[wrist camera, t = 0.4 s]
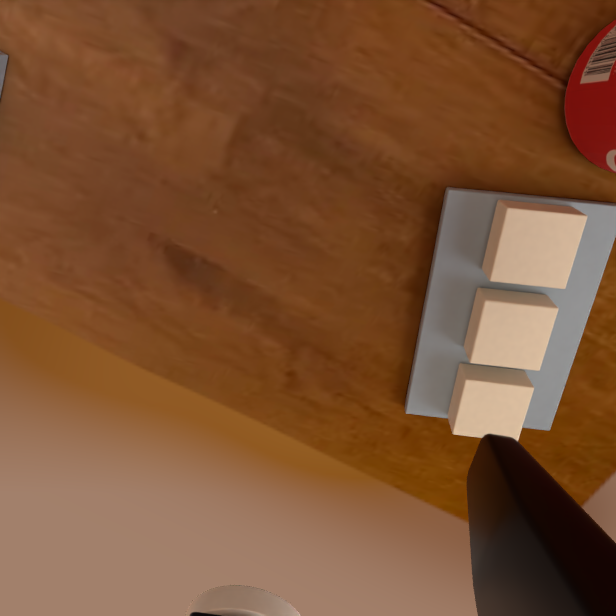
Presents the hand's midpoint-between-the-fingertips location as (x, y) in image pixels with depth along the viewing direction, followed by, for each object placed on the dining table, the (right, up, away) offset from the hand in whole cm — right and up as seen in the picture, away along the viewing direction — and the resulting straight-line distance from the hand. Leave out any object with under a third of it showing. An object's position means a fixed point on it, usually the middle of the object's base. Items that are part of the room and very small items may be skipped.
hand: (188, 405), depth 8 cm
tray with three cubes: (+11, +1, +15) cm, 19 cm away
